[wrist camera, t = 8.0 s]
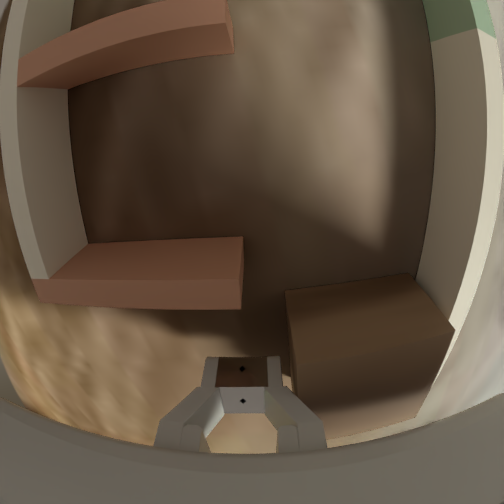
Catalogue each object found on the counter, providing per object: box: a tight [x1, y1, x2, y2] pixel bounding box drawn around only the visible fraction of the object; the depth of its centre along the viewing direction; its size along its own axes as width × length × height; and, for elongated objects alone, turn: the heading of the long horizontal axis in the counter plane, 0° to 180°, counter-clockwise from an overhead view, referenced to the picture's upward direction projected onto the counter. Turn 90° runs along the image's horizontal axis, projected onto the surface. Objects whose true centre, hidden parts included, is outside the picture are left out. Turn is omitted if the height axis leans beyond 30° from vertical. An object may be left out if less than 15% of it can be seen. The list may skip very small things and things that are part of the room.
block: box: [285, 273, 455, 440], centre depth 10 cm, size 6×6×4 cm
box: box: [0, 0, 504, 384], centre depth 8 cm, size 24×16×3 cm, turn 2°
